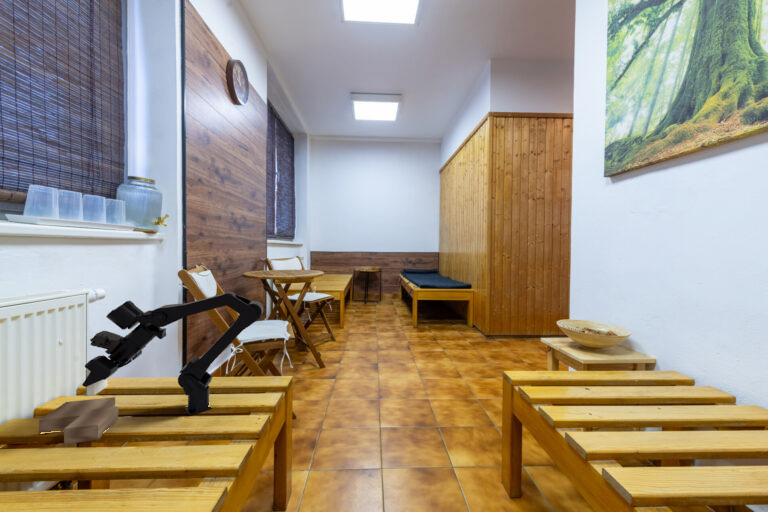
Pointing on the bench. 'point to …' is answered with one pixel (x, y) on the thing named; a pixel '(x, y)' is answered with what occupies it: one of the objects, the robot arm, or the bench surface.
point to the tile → (95, 386)
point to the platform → (81, 419)
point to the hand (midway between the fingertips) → (91, 380)
